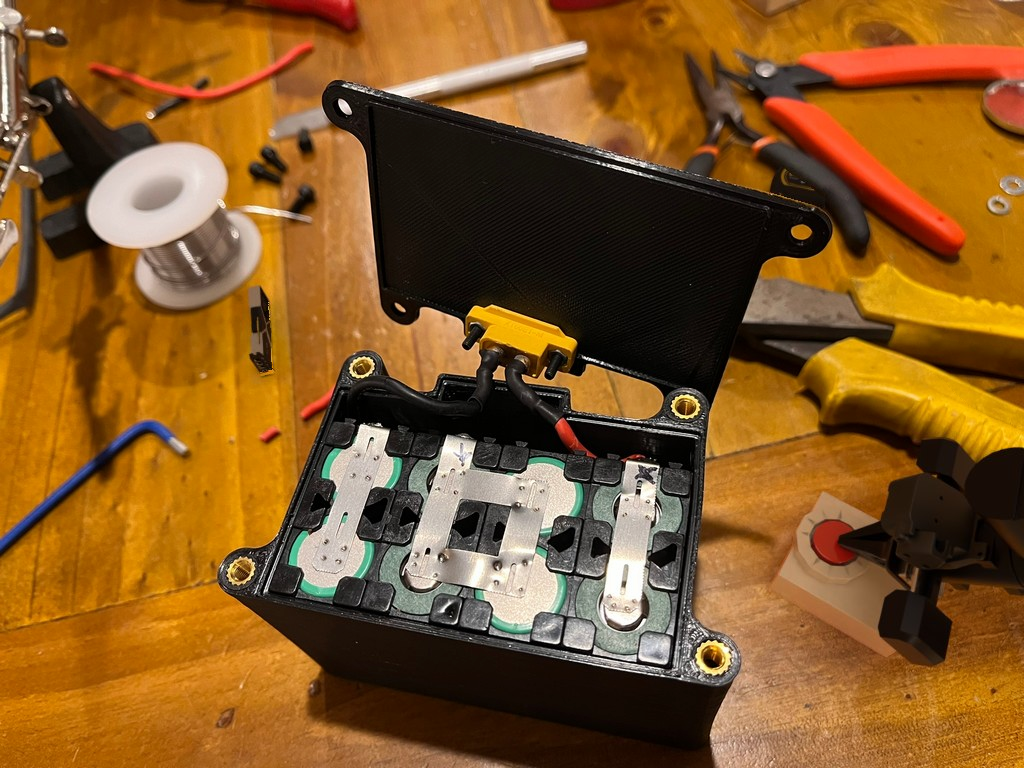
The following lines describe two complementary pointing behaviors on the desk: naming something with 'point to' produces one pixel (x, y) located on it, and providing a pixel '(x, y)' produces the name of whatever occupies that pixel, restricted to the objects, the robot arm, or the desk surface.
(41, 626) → the desk surface
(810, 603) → the switch block
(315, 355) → the desk surface
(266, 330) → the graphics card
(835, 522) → the red button
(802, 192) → the tape measure
